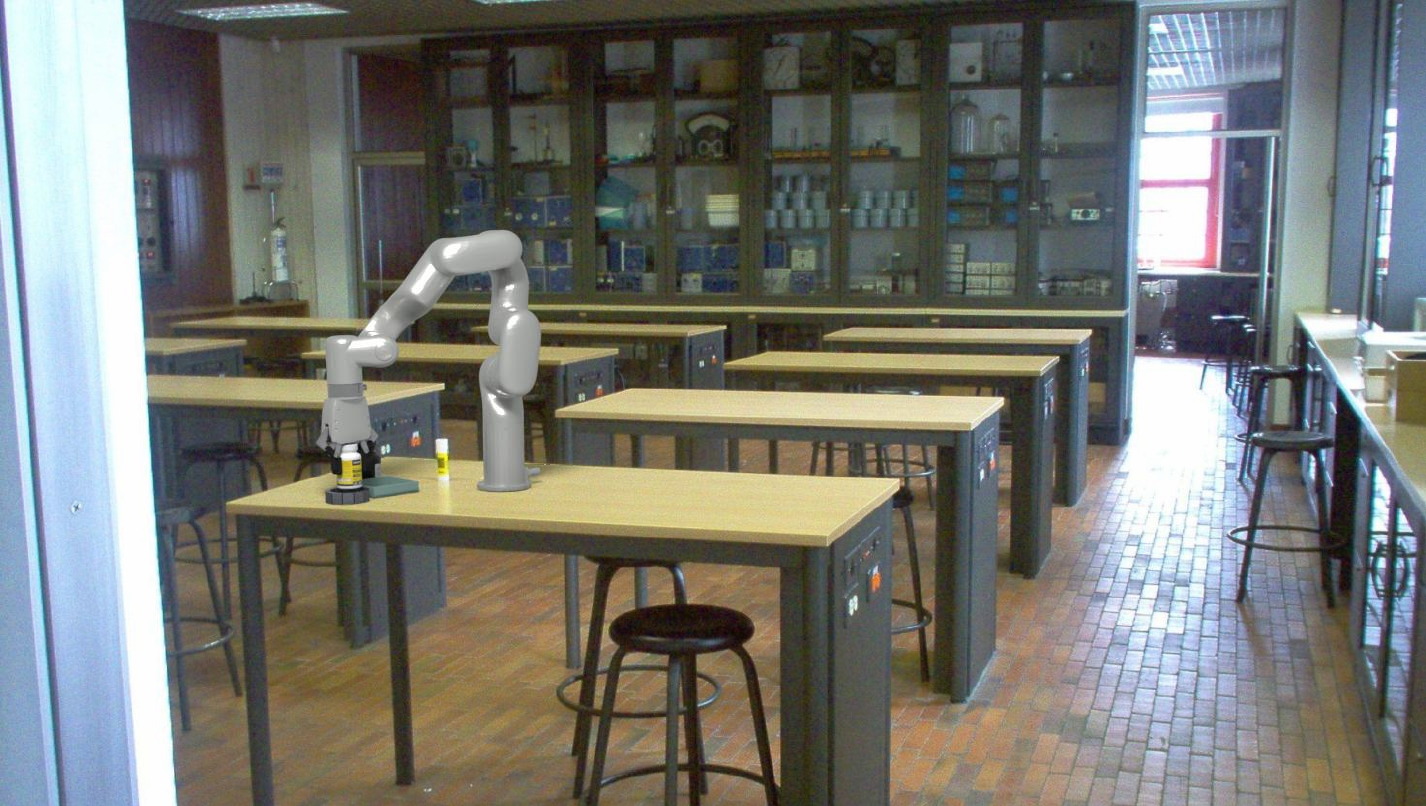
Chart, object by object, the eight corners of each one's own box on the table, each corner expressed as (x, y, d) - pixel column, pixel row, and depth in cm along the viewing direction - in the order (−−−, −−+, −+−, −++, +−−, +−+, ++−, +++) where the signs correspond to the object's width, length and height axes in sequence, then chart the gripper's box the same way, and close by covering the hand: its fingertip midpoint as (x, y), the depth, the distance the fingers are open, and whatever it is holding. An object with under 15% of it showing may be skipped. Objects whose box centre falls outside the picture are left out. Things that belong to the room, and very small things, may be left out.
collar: (354, 495, 300) (353, 484, 300) (377, 500, 294) (377, 489, 294) (317, 501, 293) (316, 490, 293) (340, 506, 287) (340, 495, 287)
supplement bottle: (355, 490, 290) (353, 445, 289) (333, 489, 291) (330, 445, 290) (366, 485, 296) (364, 442, 294) (344, 485, 297) (342, 441, 296)
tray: (388, 485, 313) (388, 475, 313) (418, 491, 305) (418, 481, 305) (344, 492, 304) (344, 481, 304) (374, 498, 296) (373, 487, 296)
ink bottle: (387, 484, 316) (386, 434, 314) (351, 487, 311) (350, 437, 309) (373, 478, 324) (371, 430, 322) (337, 482, 319) (336, 432, 317)
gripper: (369, 387, 300) (373, 465, 302) (301, 394, 287) (305, 476, 289) (388, 389, 295) (391, 469, 297) (319, 396, 282) (324, 479, 284)
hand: (349, 471), depth 293 cm, fingers closed on supplement bottle, 5 cm apart
